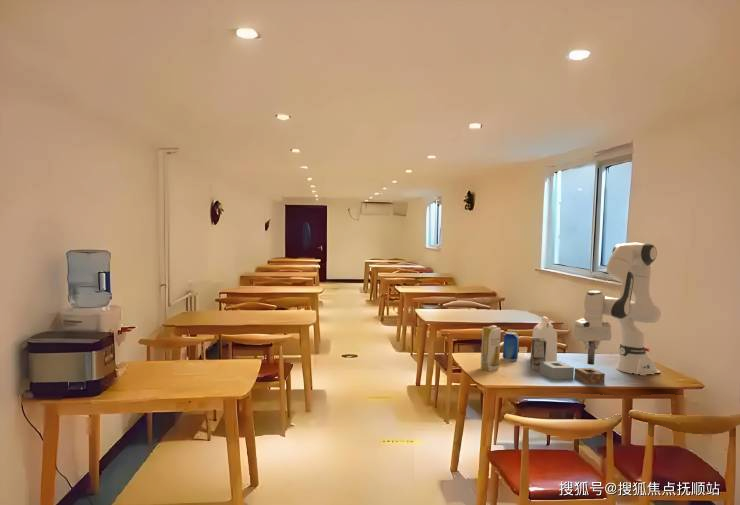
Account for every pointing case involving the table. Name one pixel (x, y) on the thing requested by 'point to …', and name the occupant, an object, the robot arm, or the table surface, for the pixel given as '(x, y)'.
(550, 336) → the milk
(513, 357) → the beer can
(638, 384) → the table surface
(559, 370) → the socket
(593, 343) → the pin
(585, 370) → the block
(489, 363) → the juice carton
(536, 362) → the coffee box
